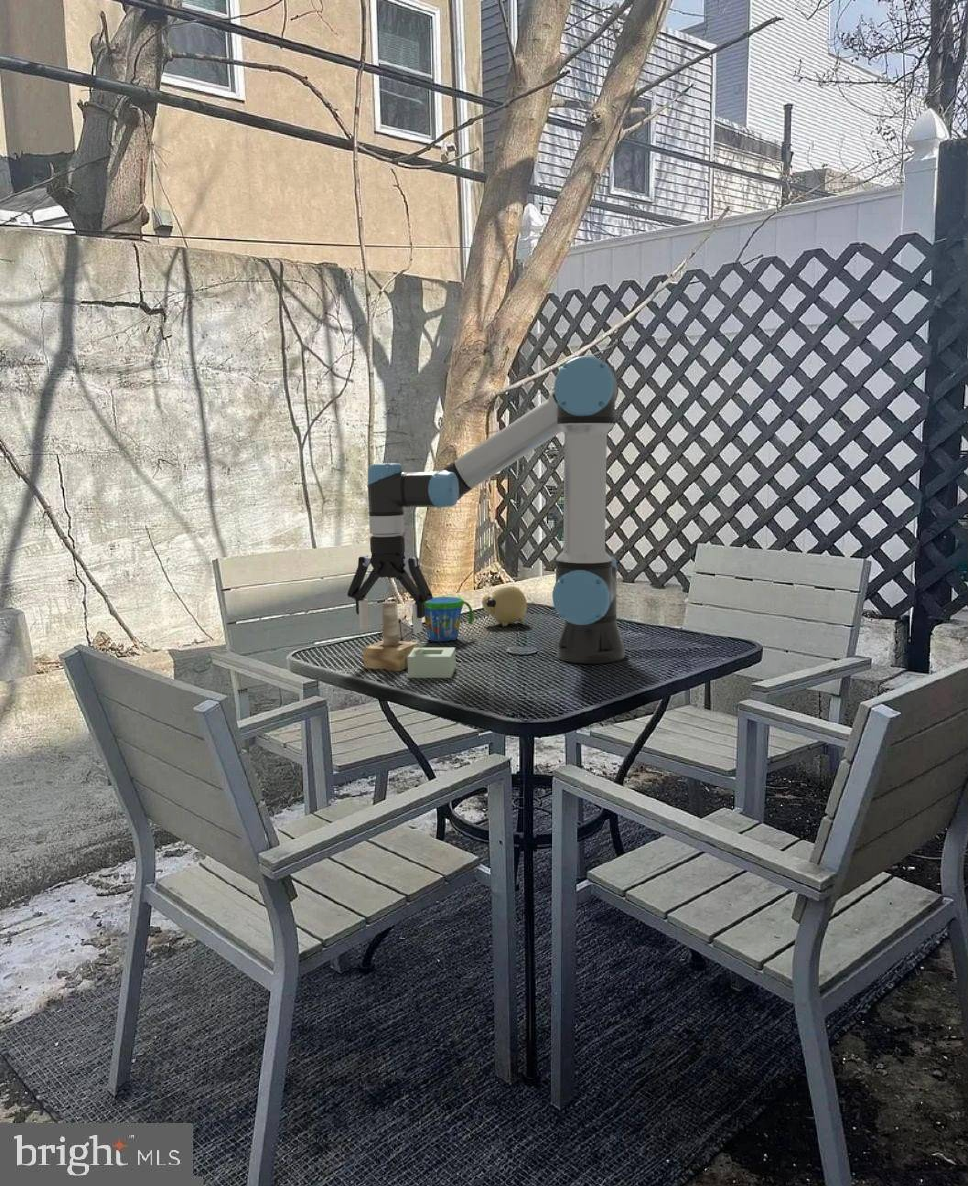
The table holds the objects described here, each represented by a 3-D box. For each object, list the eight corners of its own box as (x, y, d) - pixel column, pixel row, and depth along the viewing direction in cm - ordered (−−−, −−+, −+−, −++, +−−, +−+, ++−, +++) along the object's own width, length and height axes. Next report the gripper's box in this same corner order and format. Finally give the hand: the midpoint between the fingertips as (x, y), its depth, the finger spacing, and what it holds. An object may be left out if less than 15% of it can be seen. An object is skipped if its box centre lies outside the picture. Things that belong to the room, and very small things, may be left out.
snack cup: (469, 633, 239) (468, 594, 238) (478, 641, 229) (477, 600, 227) (409, 637, 236) (408, 598, 234) (416, 645, 225) (414, 604, 224)
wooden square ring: (419, 662, 208) (418, 642, 207) (399, 670, 199) (398, 650, 199) (384, 659, 211) (384, 639, 211) (363, 667, 203) (363, 647, 202)
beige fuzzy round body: (480, 622, 254) (479, 584, 252) (523, 620, 256) (522, 582, 254) (485, 629, 244) (484, 589, 243) (530, 627, 246) (529, 587, 244)
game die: (403, 665, 221) (408, 637, 214) (371, 652, 222) (375, 624, 215) (418, 641, 227) (423, 613, 220) (387, 628, 228) (391, 600, 221)
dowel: (402, 663, 206) (400, 602, 204) (394, 667, 203) (392, 604, 201) (389, 662, 208) (386, 601, 206) (381, 665, 205) (378, 603, 202)
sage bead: (455, 667, 201) (455, 647, 201) (450, 677, 192) (450, 656, 192) (414, 667, 202) (414, 647, 201) (408, 677, 193) (407, 656, 192)
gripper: (446, 534, 199) (448, 630, 202) (347, 532, 210) (352, 624, 213) (429, 537, 192) (432, 637, 196) (329, 535, 203) (333, 630, 206)
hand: (390, 630), depth 204 cm, fingers open, 13 cm apart
